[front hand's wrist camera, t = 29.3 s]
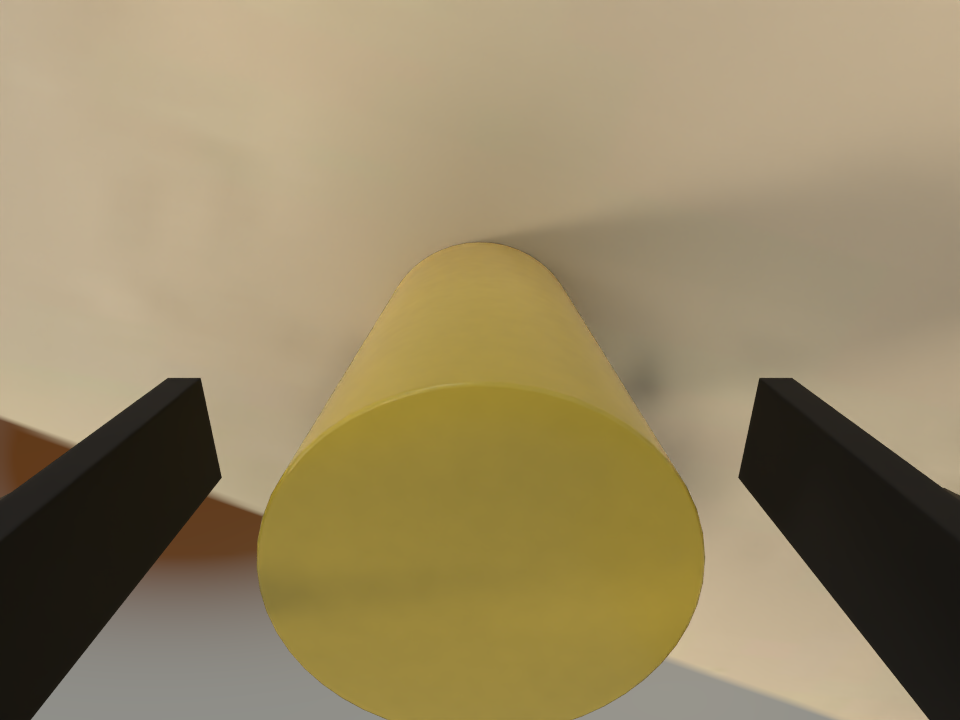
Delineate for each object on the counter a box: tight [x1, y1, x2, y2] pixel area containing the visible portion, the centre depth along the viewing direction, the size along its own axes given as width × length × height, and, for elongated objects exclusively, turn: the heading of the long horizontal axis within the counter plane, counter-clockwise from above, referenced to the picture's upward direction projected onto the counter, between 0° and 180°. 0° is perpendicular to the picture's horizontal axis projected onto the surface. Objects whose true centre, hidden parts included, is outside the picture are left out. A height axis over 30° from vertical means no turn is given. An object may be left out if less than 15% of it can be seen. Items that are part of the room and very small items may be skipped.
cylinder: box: [257, 242, 705, 720], centre depth 14 cm, size 7×7×12 cm
